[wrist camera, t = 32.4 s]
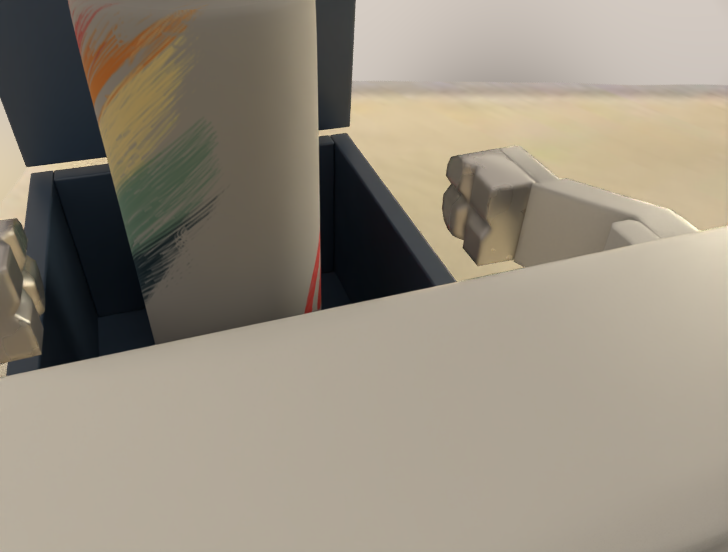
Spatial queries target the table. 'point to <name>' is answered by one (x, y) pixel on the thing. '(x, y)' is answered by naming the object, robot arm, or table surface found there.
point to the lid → (71, 91)
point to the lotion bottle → (211, 153)
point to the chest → (120, 280)
